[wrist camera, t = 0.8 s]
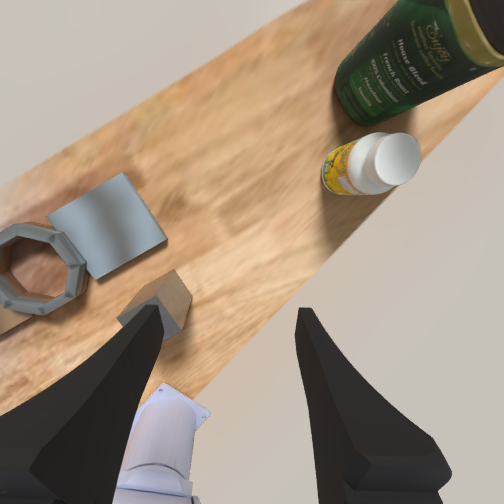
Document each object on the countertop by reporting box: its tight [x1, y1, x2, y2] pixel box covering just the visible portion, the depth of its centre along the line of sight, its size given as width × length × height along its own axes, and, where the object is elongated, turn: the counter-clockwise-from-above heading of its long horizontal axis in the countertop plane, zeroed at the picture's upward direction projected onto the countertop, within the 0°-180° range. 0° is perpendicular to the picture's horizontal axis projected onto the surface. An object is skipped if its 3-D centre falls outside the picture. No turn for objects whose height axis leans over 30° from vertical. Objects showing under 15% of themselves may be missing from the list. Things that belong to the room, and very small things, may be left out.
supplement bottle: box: [322, 132, 421, 195], centre depth 25 cm, size 5×5×10 cm
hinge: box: [0, 173, 168, 335], centre depth 27 cm, size 26×9×2 cm, turn 119°
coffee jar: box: [335, 0, 504, 126], centre depth 18 cm, size 10×8×19 cm
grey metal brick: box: [117, 269, 192, 342], centre depth 26 cm, size 4×4×8 cm
